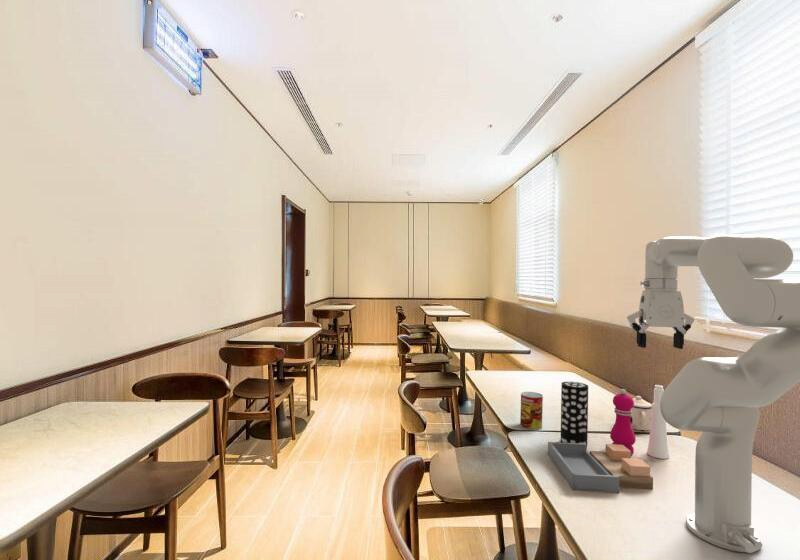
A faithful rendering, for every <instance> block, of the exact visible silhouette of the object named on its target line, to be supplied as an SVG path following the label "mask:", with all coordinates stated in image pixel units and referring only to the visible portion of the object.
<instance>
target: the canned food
mask: <svg viewBox="0 0 800 560" xmlns="http://www.w3.org/2000/svg"><path fill="white" fill-rule="evenodd" d="M543 399H544V395H543V394H541V393H540V392H539V393H538V392H536V391H535V392H534V391H523V392H521V393H520V423H519V424H520V427H521V428H523V429H525V430H526V429H527V430H530V431H531V430H532V431H537V430H538V431H539V430H542V429H543V405H544V403H543Z"/></svg>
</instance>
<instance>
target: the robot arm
mask: <svg viewBox="0 0 800 560" xmlns="http://www.w3.org/2000/svg"><path fill="white" fill-rule="evenodd" d="M793 260H794V253H793V249H792V247H791V246H790V245H789V244H788V243H787V242H785V241H784V240H783V239H780V238H778V237H775V236H770V235H765V234H717V235H713V236H710V237H704V236H703V237H701V236H700V237H699V236H666V237H662V238H660V239H658V240H653V241H649V242H648V243H647V244H646V245H645V263H644V266H645V267H644V268H645V269H644V271H645V273H644V280H641V281H640V282H639V283H640V286H641V287H643V289H644V290H642V292H641V296H640V301H639V305H638V306H639V307H638V310H637V311H636V312H633V313H631V314H629V315H627V316H626V319H627V321H628V323H629V326H630V327H631V328H632V329H633V330H634V331H635V332H636V344H637V347H639V348H642V349H643V348H644V349H646V348H647V333H645V332H646V331H647V330H648V328H649V327H653V328H672V330H674V333H673V344H672V345H673V348H676V349H679V350H683V349H684V345H685V335H686V334H687V332H688V331H689V330H690V329H691V328H692V325H693V323H694V321H695V318H694V317H692V316H691V315H688V314H687V313H685V309H684V307H685V306H684V300H683V295H682V292H681V290H678V270H679V269H678V268H679V267H698V269H699V271H700V274H701V275H702V278H703V279H704V281H705V282H706V285H707V286H708V288H709V289H710V292H711V293H712V294H713V296H714V298H715V300H716V301H717V303H718V305H719V307H720V308H721V310H722V312H723V313H724V315H725V316H726V318H728V319H729V320H730V321H732V322H733V323H736V324H737V325H739V326H744V327H752V328H754V327H755V328H780V329H778V330H775V331H774V332H771V333H769V334H767V335H764V336H763V337H761V338H760V339H758V340H757V341H756V342H754V343H753V344H752V345H751V346H750V348H748V349H747V350H746V352H744V353H743V354H741V355H739V356H733V357H712V356H711V357H709V356H708V357H707V356H706V357H698V358H695V359H693V360H690V361H688V362H687V363H686V364H685V365H684V366H683V367H682V368H681V369H680V371H679V372H678V373H677V374H676V376H674V378H673V379H672V380H671V381H670V383H669V384H668V385H667V386H666V387H665V389H664V392H663V394H662V397H661V401H660V410H661V414H662V416H663V418H664V419H665V421H666V424H667V425H669V426H671V427H672V428H675V429H677V430H681V431H685V432H701V434H700V436H699V437H698V439H697V442H696V444H695V445H696V446H695V455H694V456H695V459H694V460H695V463H694V466H695V468H694V470H695V471H694V512H693V513H692V512H691V513H690V514H688V515H686V517H685V524H686V525H685V526H687V528H688V529H689V530H690V531H691V533H693V534H694V535H695V536H697V537H698V538H700V539H701V540H704V541H705V542H707V543H710V544H711V545H714V546H716V547H719V548H722V549H725V550H728V551H732V552H739V553H748V554H752V553H755V552H757V551H760V550H761V549H762V547H763V543H762V541H761V538H760V537H759V536H758V534H757V533H756V532H755V527H754V526H753V525H752V487H753V486H752V478H753V477H752V476H753V475H752V474H753V471H752V469H753V450H754V449H753V448H754V441H755V436H756V432H757V429H758V424H759V420H760V410H759V408H762V407H764V408H765V407H767V406H769V405H771V404H773V403H774V402H776V401H777V400H778V399H779V398H781V397H782V396H784V395H785V394H786V393H787V392H788V391H790V390H791V389H792V388H793V387H795V386H796V385H797V384H798V383H799V382H800V279H781V278H780V279H773V277H776V276H778V275H780V274H783V273H784V272H785V271H787V270H788V268H790V266H792V263H793ZM771 278H772V279H771ZM636 319H638V322H639V323H637V322H636Z"/></svg>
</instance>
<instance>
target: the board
mask: <svg viewBox="0 0 800 560" xmlns="http://www.w3.org/2000/svg"><path fill="white" fill-rule="evenodd" d="M589 453H590V454H591V455H592V456H593V457H594V458H595V459H596V460H597V461H598V462H599V463H600V464H601V465H602V466H603V467H604V468H605V469H606V470H607V471H608V472H609V473H610V474H611V475H615V476H619V477H620V478H619V488H627V489H629V488H631V489H645V490H647V489H648V490H653V489H654V477H653V476H652V475H651V474H650V477H649V476H631V475H629V474H628V473H627V472H626V471H625V470H624V469H623V468H622V460H616V459H612V458H611V457H610V456H609V455H608V454H607V453H606V451H601V450H599V451H597V450H589Z"/></svg>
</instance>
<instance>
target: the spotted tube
mask: <svg viewBox="0 0 800 560" xmlns="http://www.w3.org/2000/svg"><path fill="white" fill-rule="evenodd" d="M560 389H561V394H560V395H561V397H560V398H561V399H560V403H561V404H560V443H581V444H587V445H588V437H589V436H588V435H589V434H588V430H589V429H588V426H589V385H588V384H586V383H583V382H579V381H563V382H561V388H560Z"/></svg>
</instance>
